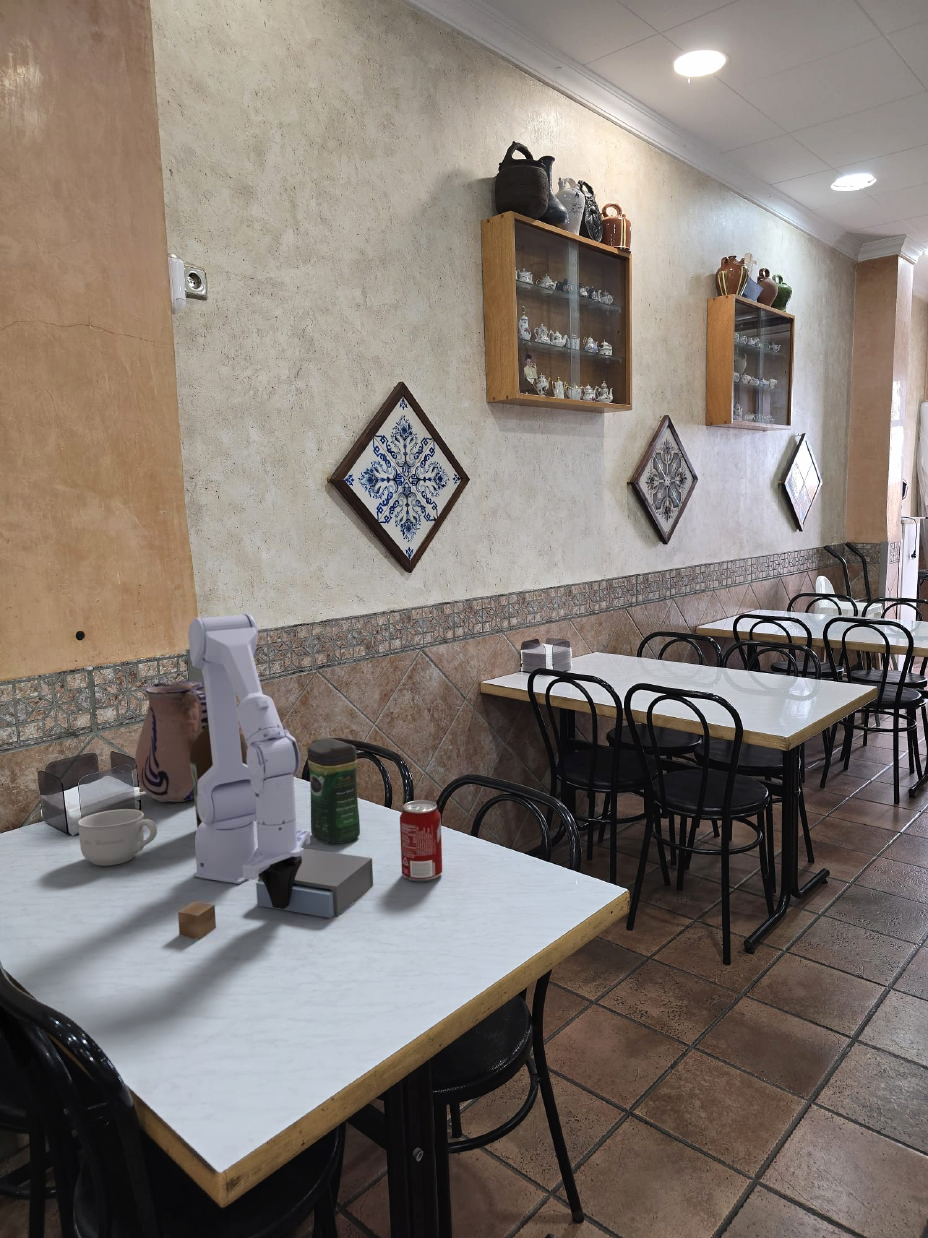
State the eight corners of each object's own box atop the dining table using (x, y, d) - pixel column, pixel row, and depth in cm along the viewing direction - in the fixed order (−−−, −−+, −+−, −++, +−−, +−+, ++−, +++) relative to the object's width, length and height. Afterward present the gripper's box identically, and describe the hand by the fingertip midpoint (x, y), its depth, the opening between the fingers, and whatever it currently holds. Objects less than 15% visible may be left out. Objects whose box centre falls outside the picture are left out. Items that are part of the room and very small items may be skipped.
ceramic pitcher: (183, 780, 194) (177, 675, 191) (249, 792, 183) (243, 682, 181) (119, 802, 179) (111, 689, 176) (186, 817, 168) (178, 697, 166)
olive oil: (251, 818, 167) (244, 697, 164) (250, 837, 156) (243, 707, 154) (196, 824, 164) (188, 700, 162) (191, 843, 154) (183, 712, 151)
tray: (257, 905, 127) (256, 883, 127) (297, 876, 137) (296, 856, 137) (330, 918, 122) (329, 894, 122) (366, 887, 132) (365, 866, 132)
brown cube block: (179, 935, 119) (177, 912, 118) (196, 924, 122) (194, 901, 122) (199, 939, 117) (198, 915, 117) (216, 927, 121) (214, 904, 120)
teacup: (67, 867, 144) (63, 823, 144) (114, 844, 154) (111, 803, 154) (128, 878, 139) (125, 832, 138) (173, 854, 149) (170, 811, 148)
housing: (259, 902, 128) (258, 874, 128) (299, 874, 139) (298, 847, 138) (337, 916, 123) (336, 886, 123) (373, 885, 134) (372, 858, 133)
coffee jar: (367, 838, 154) (363, 741, 152) (329, 849, 149) (325, 749, 147) (341, 824, 162) (337, 732, 160) (304, 834, 157) (300, 739, 155)
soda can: (437, 885, 133) (434, 813, 132) (396, 883, 134) (394, 811, 133) (446, 868, 139) (444, 800, 138) (408, 866, 141) (405, 798, 140)
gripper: (270, 839, 114) (275, 933, 115) (325, 805, 127) (329, 890, 129) (228, 833, 116) (233, 925, 118) (286, 801, 130) (290, 884, 131)
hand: (280, 906), depth 123 cm, fingers closed
